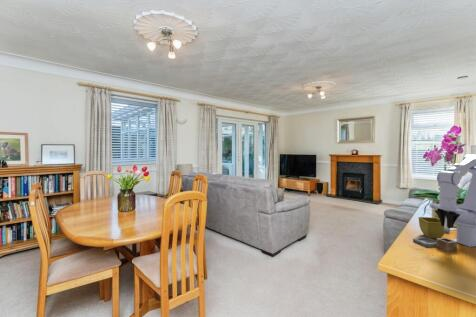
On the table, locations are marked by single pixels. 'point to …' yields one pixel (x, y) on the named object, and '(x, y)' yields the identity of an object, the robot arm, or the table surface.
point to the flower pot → (431, 227)
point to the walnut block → (446, 244)
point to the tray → (425, 241)
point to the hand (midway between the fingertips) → (447, 226)
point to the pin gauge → (446, 230)
